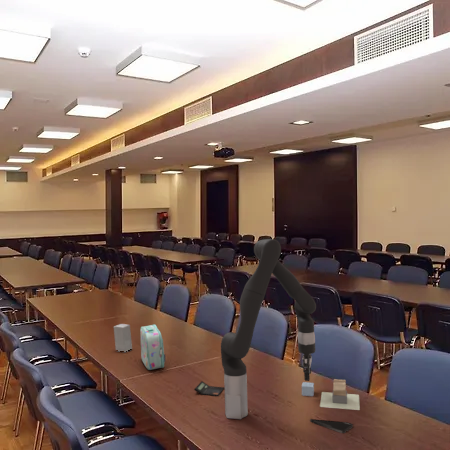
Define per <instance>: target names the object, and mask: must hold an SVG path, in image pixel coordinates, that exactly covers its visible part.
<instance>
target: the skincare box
mask: <svg viewBox="0 0 450 450" xmlns="http://www.w3.org/2000/svg"><path fill="white" fill-rule="evenodd" d="M113 334H114V344H115V346H114V347H115V351H116V350H118V351H117V352H120V351H124V352H123V353H127V352H129V351H128V350H130V349H132V350H133V344H132V343H133V342H132V334H131V325H130V324H125V323H119V324H117V325H114V326H113ZM126 351H127V352H126ZM130 351H131V350H130Z"/></svg>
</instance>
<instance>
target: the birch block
mask: <svg viewBox="0 0 450 450" xmlns="http://www.w3.org/2000/svg"><path fill="white" fill-rule="evenodd" d="M346 382H347V381H346V379H336V378H334V379H333V384H332V385H333V389H332V390H334V395H340V396H346V391H347V386H346V385H347V383H346Z"/></svg>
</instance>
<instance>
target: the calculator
mask: <svg viewBox="0 0 450 450" xmlns="http://www.w3.org/2000/svg"><path fill="white" fill-rule="evenodd" d="M193 391H195V392H196V393H198V394H200V395H201V396H209V397H210V396H211V397H219V396H220V395H221V394H222V393H223V391H225V386H224V387H222V386H210V385H208V384H207V383H206V382H204V381H203V380H201V381H200V382H199V383H198V384H197V386H196V387H195V388H194V390H193Z"/></svg>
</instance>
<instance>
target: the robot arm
mask: <svg viewBox="0 0 450 450" xmlns="http://www.w3.org/2000/svg"><path fill="white" fill-rule="evenodd" d="M281 252H282V247H281V244H280V242H279V241H278V240H277V239H275V238H267V239H266V238H265V239H260V240H258V241H256V243H254V246H253V253H254V255H255V257H256V258H257V259H258V260H259V262H258V265H257V267H256V269H255V271H254V272H253V273H252V275H251V276H250V277H249V278H248V280H247V281H246V283H245V285H244V286H243V287H244V288H243V290H242V292H241V295H240V300H239V310H240V312H239V313H240V322H239V323H240V324H239V327H238V330H237V333H235V332H231V331H230V332H227V333H225V334H224V335H223V337H222V339H221V340H220V341H221V342H220V359H221V365H222V368H223V374H224V375H223V376H224V377H223V378H224V380H223V381H224V383H223V384H224V412H225V416H226V419H233V420H234V419H235V420H242V419H243V418H245V417H247V416H248V414H249V413H248V411H249V410H248V383H247V382H248V381H247V379H248V377H247V366H246V364H245V362H244V361H243V360H242V359H243V358H245V357H246V356H247V355H248V353H249V351H250V349H251V345H252V340H253V335H254V331H255V326H256V323H257V320H258V316H259V314H260V310H261V307H262V305H263V301H264V299H265V295H266V292H267V289H268V286H269V283H270V282H271V281H270V280H271V277H272V275H273V276H274V277H275V278H276V280H277V281H278V282H279V284H280V285H281V286H282V288H283V289H284V291H286V293H287V294H288V296H289V297H290V298H291V299H293V300H294V311H295V314H296V315H295V316H296V318H297V322H298V323H297V331H298V333H297V342H298V343H297V345H298V346H297V347H298V349H297V350H298V353H301V354H302V369H303V370H302V372H303V374H304V375H303V376H304V382H309V381H310V379H311V378H310V375H311V373H312V362H313V355H312V354H314V353H316V336H315V323H314V319H313V318H312V317H311V314H313V313H314V312H315V311H316V309H317V303H316V301H315V300H314V298H313V297H312V296H311V294H310V293H309V292H308V291H307V290H306V289H305V288H304V287H303V286H302V284H301V282H299V280H298V279H297V277H296V276H295V275H294V273H292V272H291V271H290V270H289V269H288V268H287V267H286V266H285V265H283V263H282V262H281V261H280V260H279V258H280V256H281V254H282V253H281Z"/></svg>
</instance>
